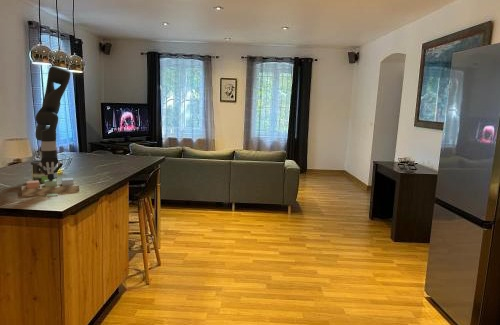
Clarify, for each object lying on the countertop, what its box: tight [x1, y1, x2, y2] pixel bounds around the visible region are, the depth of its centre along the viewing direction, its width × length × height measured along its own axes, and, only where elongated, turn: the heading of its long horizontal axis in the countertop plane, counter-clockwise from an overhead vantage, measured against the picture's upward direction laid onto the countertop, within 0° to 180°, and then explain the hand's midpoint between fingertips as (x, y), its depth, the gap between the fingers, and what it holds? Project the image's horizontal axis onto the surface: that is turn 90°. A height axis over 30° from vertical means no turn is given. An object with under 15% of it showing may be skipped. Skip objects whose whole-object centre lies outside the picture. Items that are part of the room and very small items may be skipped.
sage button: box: [44, 178, 58, 187], centre depth 202 cm, size 6×6×4 cm
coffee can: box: [30, 160, 51, 185], centre depth 215 cm, size 10×10×14 cm
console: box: [21, 181, 80, 198], centre depth 202 cm, size 27×10×4 cm, turn 121°
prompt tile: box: [46, 193, 59, 198], centre depth 195 cm, size 5×5×1 cm
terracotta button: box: [26, 180, 39, 189], centre depth 197 cm, size 6×6×4 cm
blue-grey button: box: [61, 177, 75, 186], centre depth 206 cm, size 6×6×4 cm
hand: (50, 180), depth 201 cm, fingers closed
